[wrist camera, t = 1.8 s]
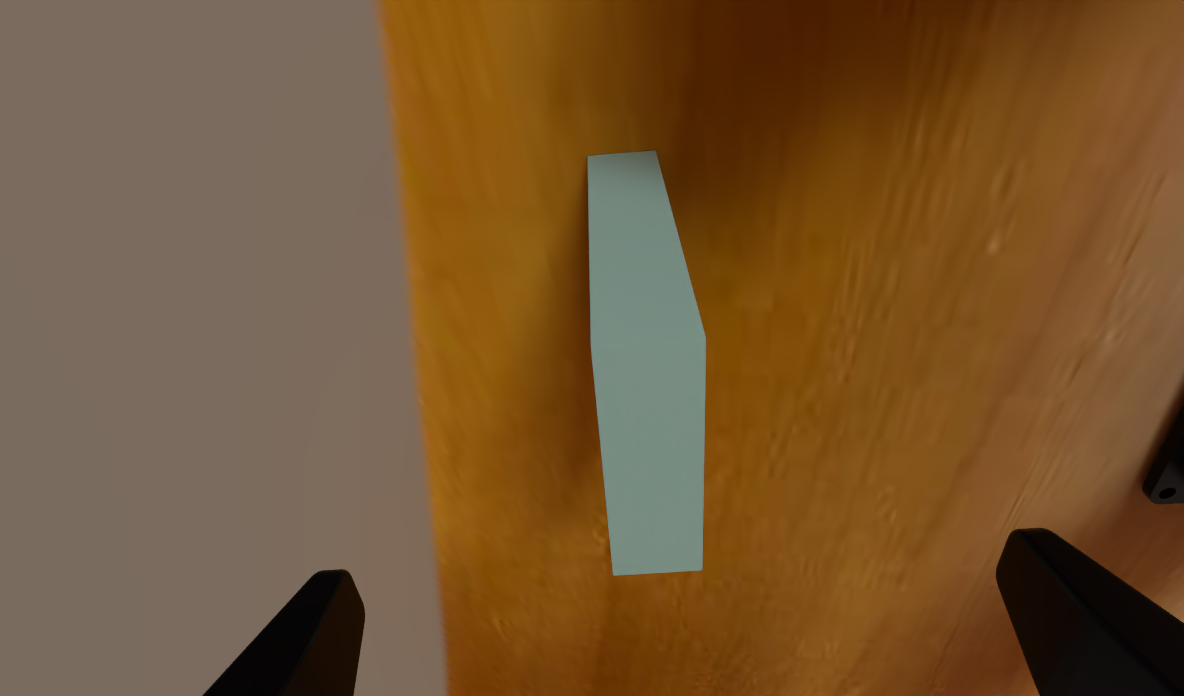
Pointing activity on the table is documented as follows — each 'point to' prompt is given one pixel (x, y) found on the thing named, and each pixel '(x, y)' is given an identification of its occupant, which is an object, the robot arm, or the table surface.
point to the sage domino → (645, 368)
